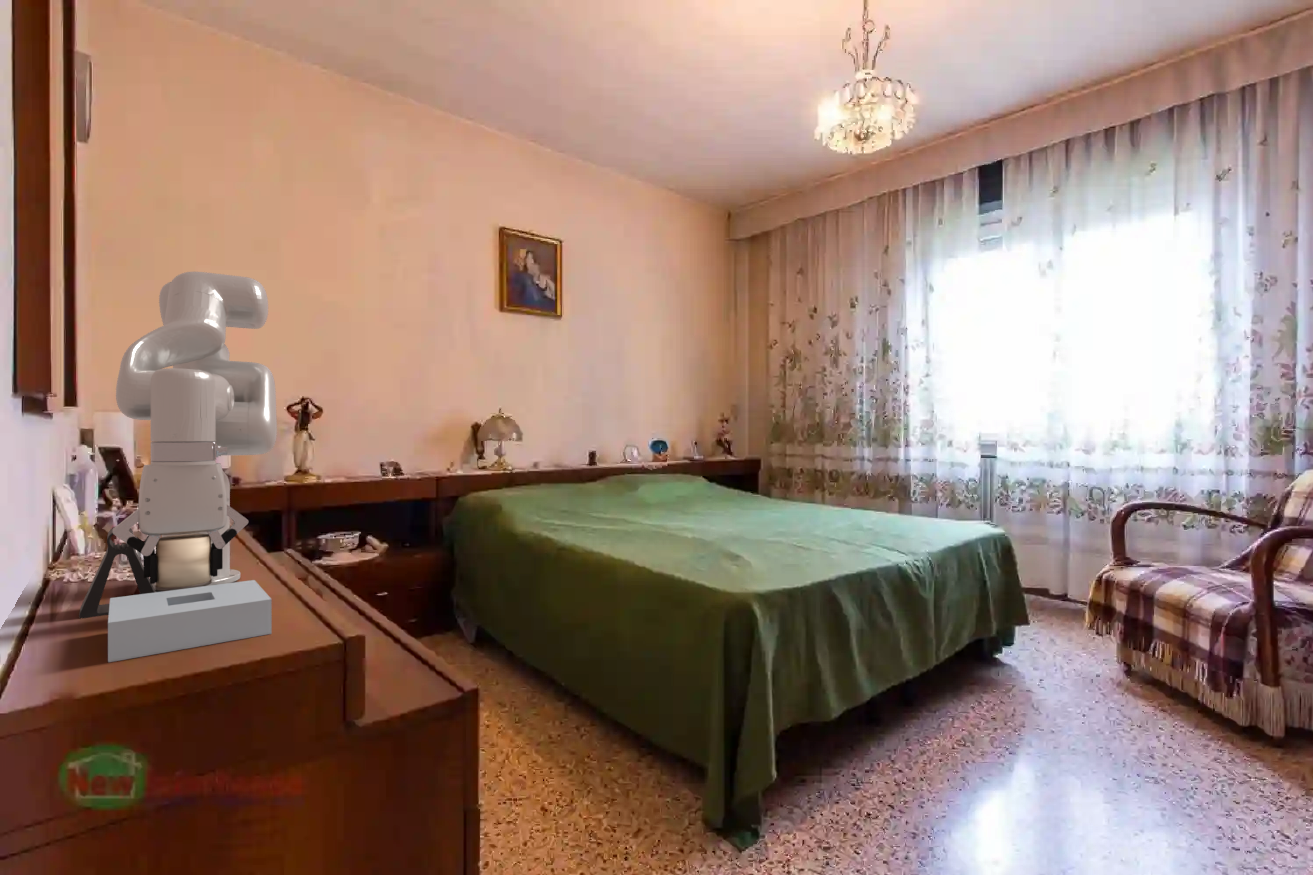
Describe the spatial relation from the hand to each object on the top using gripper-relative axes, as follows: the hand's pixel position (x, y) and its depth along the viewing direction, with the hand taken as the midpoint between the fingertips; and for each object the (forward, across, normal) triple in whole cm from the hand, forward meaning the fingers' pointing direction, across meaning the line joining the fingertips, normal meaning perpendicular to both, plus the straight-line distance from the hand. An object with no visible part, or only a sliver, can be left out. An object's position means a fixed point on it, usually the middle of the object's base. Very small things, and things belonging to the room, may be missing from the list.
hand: (184, 577), depth 91 cm
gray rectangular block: (+5, 0, +12) cm, 13 cm away
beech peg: (+5, 0, 0) cm, 5 cm away
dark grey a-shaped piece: (+5, +7, -9) cm, 13 cm away
